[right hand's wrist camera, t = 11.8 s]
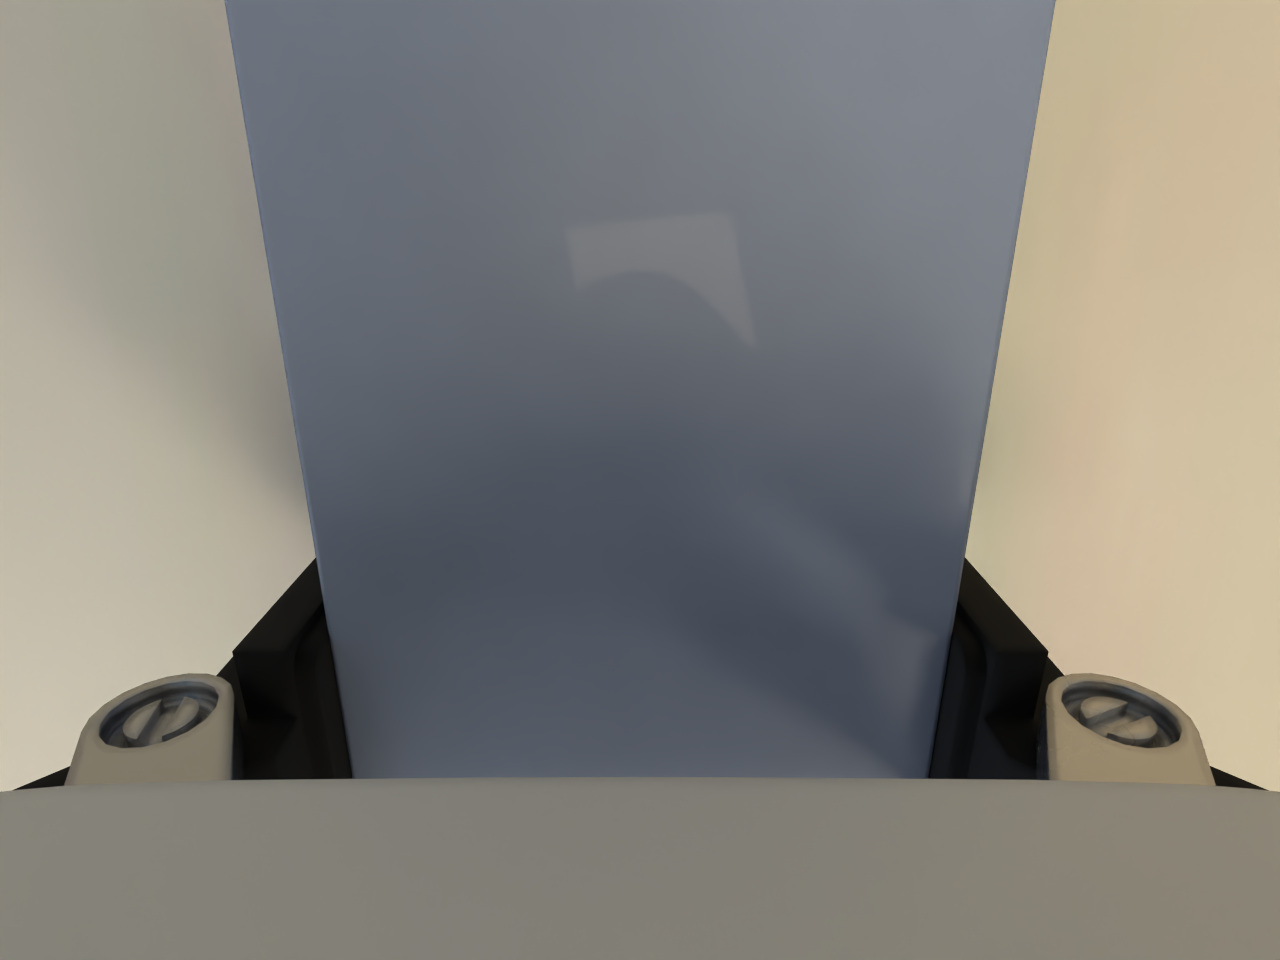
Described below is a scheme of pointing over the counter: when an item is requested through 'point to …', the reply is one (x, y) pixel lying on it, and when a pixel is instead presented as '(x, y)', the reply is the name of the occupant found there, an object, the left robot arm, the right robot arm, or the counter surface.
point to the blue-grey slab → (640, 365)
